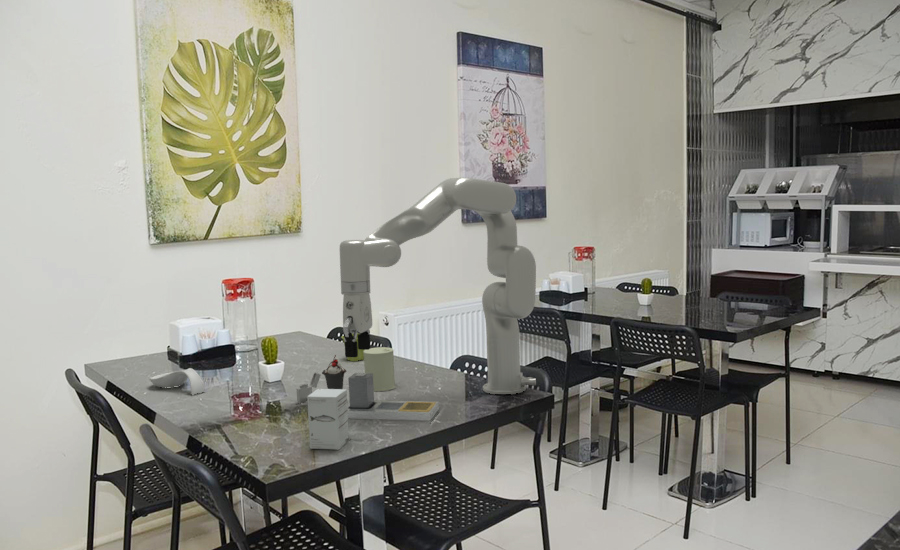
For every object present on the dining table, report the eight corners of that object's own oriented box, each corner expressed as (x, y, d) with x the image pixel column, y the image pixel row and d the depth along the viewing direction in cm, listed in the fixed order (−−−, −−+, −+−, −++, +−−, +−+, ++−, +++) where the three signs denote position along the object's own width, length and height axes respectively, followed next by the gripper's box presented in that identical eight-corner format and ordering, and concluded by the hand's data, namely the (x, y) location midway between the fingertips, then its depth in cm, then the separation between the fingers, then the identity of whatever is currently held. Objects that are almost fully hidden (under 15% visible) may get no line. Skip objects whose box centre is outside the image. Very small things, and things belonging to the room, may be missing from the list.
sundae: (337, 411, 197) (334, 357, 196) (319, 408, 201) (316, 355, 199) (353, 405, 203) (350, 352, 201) (335, 402, 206) (332, 350, 205)
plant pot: (367, 362, 256) (366, 337, 256) (340, 363, 257) (339, 338, 256) (370, 356, 266) (369, 332, 265) (344, 357, 266) (343, 333, 265)
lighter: (299, 404, 206) (298, 376, 205) (297, 402, 207) (295, 375, 206) (322, 399, 210) (320, 372, 209) (319, 398, 211) (318, 371, 211)
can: (390, 391, 215) (388, 352, 214) (360, 391, 217) (358, 351, 216) (399, 383, 224) (397, 345, 223) (370, 383, 226) (368, 345, 225)
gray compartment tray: (439, 412, 192) (438, 401, 192) (430, 424, 183) (429, 412, 182) (353, 410, 197) (352, 399, 197) (339, 421, 188) (339, 410, 187)
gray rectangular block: (374, 410, 193) (372, 372, 192) (368, 415, 189) (366, 377, 187) (356, 409, 194) (354, 372, 193) (350, 415, 190) (348, 376, 189)
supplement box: (308, 449, 168) (305, 396, 166) (321, 439, 175) (317, 387, 173) (339, 450, 166) (336, 396, 165) (350, 440, 173) (347, 388, 172)
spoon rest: (143, 388, 232) (141, 366, 232) (178, 380, 241) (176, 359, 241) (182, 399, 217) (180, 375, 216) (217, 390, 226) (215, 367, 225)
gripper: (358, 292, 179) (360, 360, 180) (379, 284, 196) (381, 346, 197) (329, 291, 180) (332, 359, 182) (353, 284, 197) (355, 346, 199)
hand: (358, 353), depth 190 cm, fingers open, 9 cm apart
